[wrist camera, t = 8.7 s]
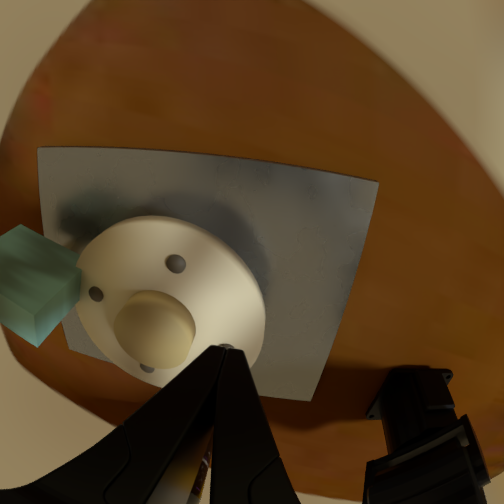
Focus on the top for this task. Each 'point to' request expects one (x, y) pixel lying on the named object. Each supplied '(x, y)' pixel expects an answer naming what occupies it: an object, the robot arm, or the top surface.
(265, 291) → the base
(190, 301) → the flange
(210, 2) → the top surface
